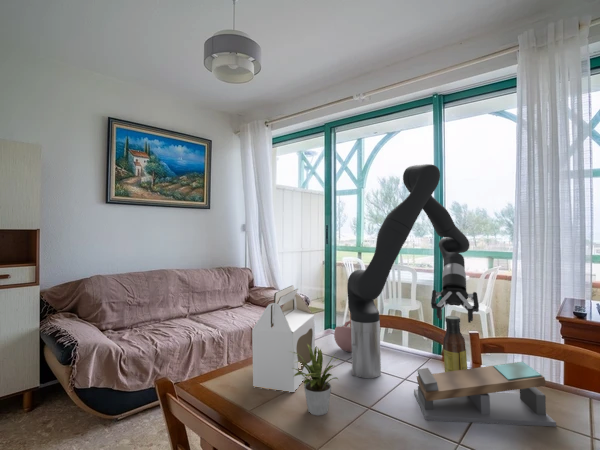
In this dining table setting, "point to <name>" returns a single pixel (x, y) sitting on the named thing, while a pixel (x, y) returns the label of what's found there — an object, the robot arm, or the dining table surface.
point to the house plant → (316, 384)
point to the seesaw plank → (478, 380)
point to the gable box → (283, 342)
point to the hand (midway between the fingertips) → (454, 320)
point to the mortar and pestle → (343, 337)
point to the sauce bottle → (454, 346)
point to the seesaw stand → (489, 408)
